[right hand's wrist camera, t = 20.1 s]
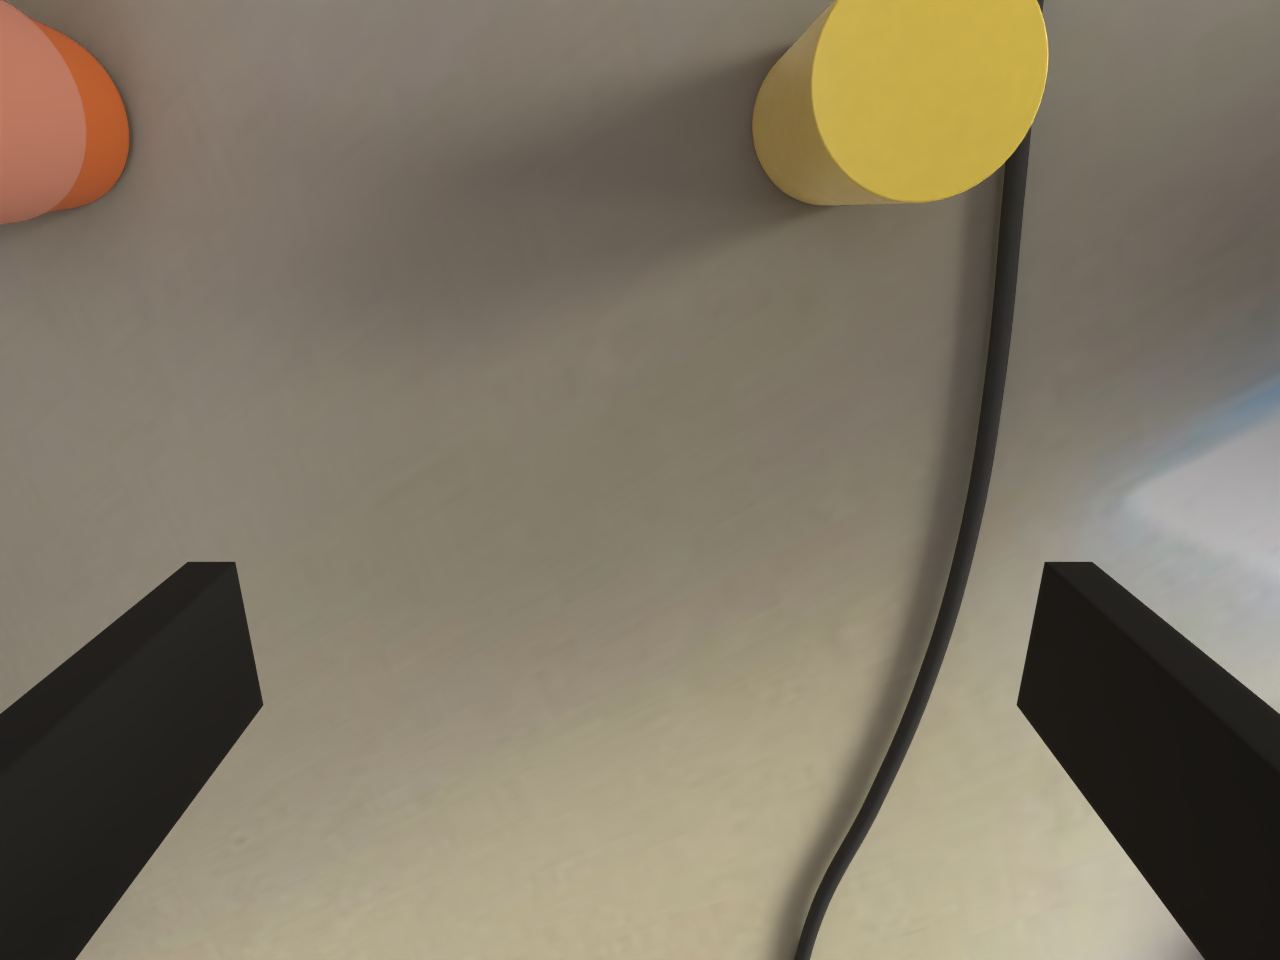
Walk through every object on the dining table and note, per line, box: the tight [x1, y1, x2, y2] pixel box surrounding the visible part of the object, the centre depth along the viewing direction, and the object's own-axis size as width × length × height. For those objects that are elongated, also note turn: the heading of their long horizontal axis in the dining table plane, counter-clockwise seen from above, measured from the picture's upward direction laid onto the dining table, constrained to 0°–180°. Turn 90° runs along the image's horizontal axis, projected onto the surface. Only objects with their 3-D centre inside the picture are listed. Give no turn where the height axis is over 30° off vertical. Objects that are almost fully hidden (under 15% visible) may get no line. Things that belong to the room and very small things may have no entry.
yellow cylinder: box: [752, 0, 1049, 206], centre depth 24 cm, size 6×6×10 cm
